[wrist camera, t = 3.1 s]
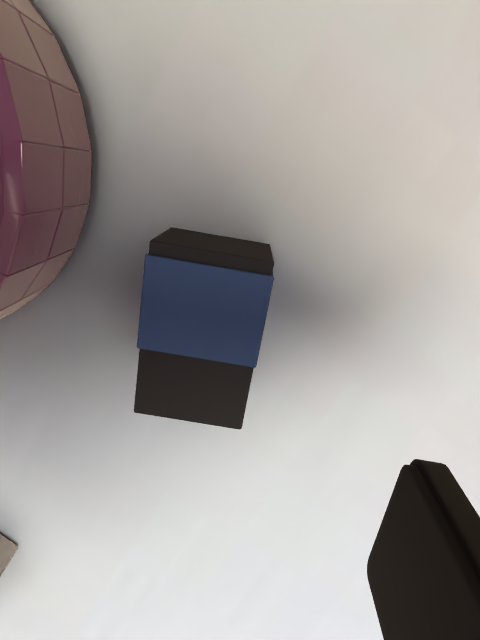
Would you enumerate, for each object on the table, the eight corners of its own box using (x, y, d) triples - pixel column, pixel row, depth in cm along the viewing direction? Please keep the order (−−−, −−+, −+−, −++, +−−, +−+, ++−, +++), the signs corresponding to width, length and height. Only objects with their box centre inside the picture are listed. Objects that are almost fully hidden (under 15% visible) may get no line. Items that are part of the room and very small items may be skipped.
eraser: (153, 370, 20) (130, 414, 17) (168, 226, 18) (146, 240, 14) (245, 385, 20) (242, 432, 17) (272, 244, 18) (277, 262, 14)
